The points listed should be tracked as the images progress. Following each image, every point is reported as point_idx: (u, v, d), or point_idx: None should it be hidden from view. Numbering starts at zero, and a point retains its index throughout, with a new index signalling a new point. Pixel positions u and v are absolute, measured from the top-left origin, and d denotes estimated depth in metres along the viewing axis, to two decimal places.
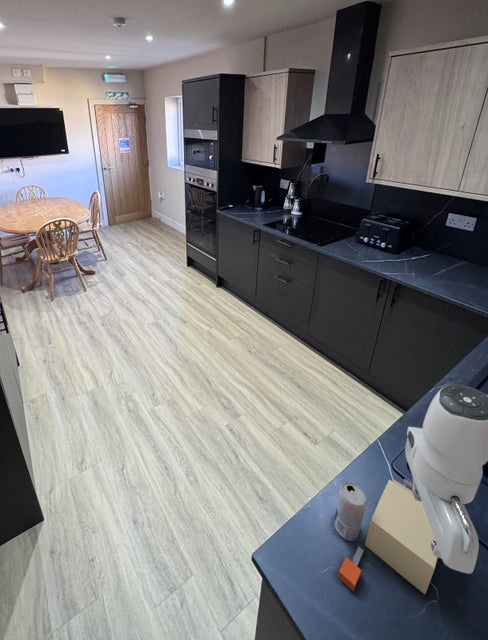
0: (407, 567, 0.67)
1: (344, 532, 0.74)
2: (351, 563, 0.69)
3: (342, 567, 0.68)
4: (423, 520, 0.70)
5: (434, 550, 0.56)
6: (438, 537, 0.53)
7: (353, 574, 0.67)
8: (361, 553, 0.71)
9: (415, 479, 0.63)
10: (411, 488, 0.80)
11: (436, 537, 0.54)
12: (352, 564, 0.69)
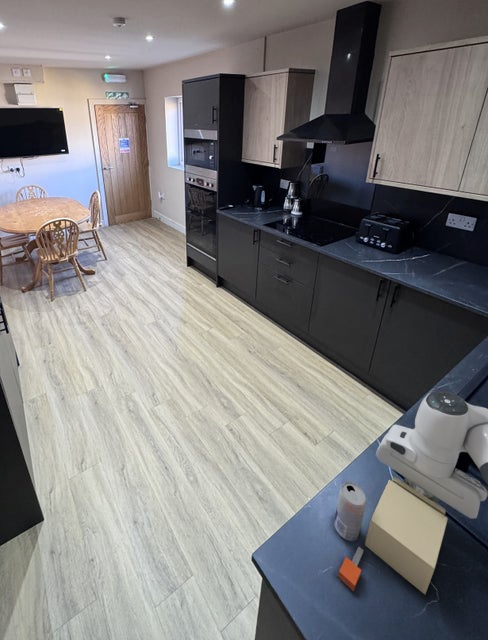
0: (407, 567, 0.67)
1: (344, 532, 0.74)
2: (351, 563, 0.69)
3: (342, 567, 0.68)
4: (423, 520, 0.70)
5: None
6: (457, 504, 0.71)
7: (353, 574, 0.67)
8: (361, 553, 0.71)
9: (403, 472, 0.79)
10: None
11: (455, 505, 0.72)
12: (352, 564, 0.69)
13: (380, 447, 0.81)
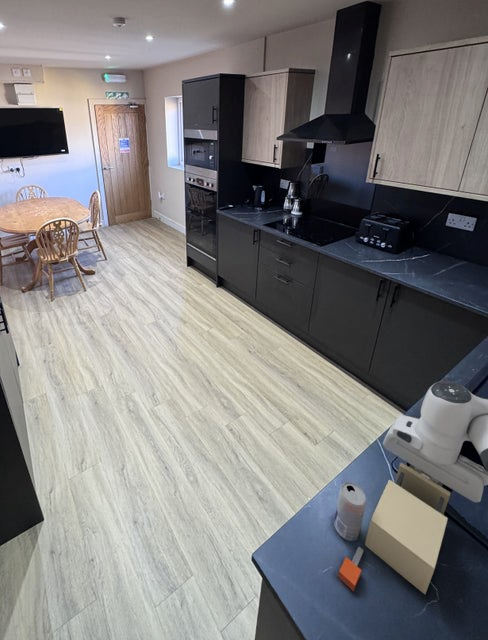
0: (407, 567, 0.67)
1: (344, 532, 0.74)
2: (351, 563, 0.69)
3: (342, 567, 0.68)
4: (423, 520, 0.70)
5: None
6: (461, 489, 0.75)
7: (353, 574, 0.67)
8: (361, 553, 0.71)
9: (409, 460, 0.82)
10: None
11: (459, 489, 0.75)
12: (352, 564, 0.69)
13: (387, 436, 0.85)
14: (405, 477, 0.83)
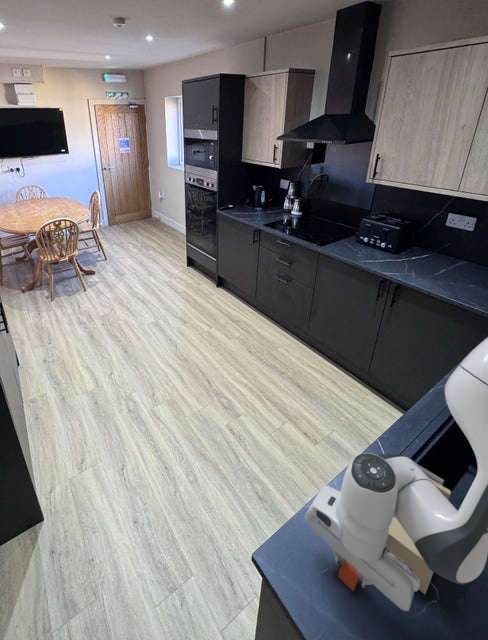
0: None
1: None
2: None
3: (342, 567, 0.68)
4: None
5: (364, 584, 0.65)
6: (388, 591, 0.60)
7: (353, 574, 0.67)
8: None
9: (332, 545, 0.67)
10: None
11: (385, 592, 0.60)
12: None
13: (308, 513, 0.70)
14: None
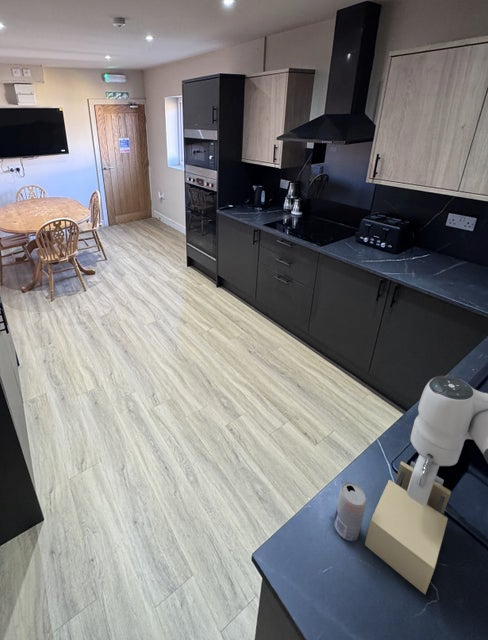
0: (407, 567, 0.67)
1: (344, 532, 0.74)
2: None
3: None
4: (423, 520, 0.70)
5: None
6: None
7: None
8: None
9: None
10: None
11: None
12: None
13: None
14: (405, 476, 0.83)
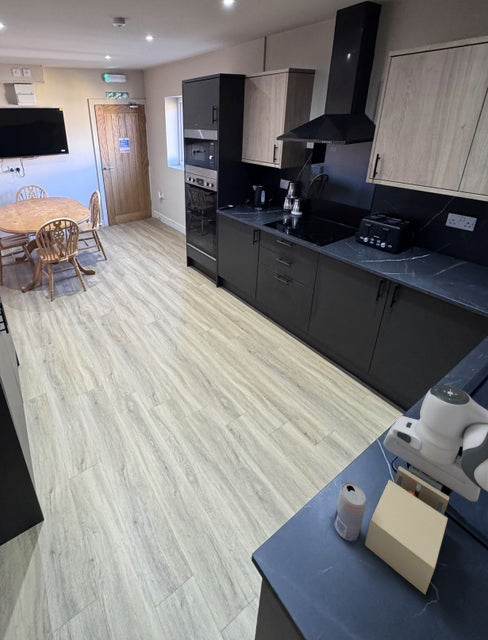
0: (407, 567, 0.67)
1: (344, 532, 0.74)
2: None
3: None
4: (423, 520, 0.70)
5: None
6: (459, 488, 0.77)
7: None
8: (416, 489, 0.76)
9: (409, 460, 0.85)
10: (416, 475, 0.83)
11: (457, 489, 0.78)
12: None
13: (387, 437, 0.87)
14: (403, 481, 0.82)
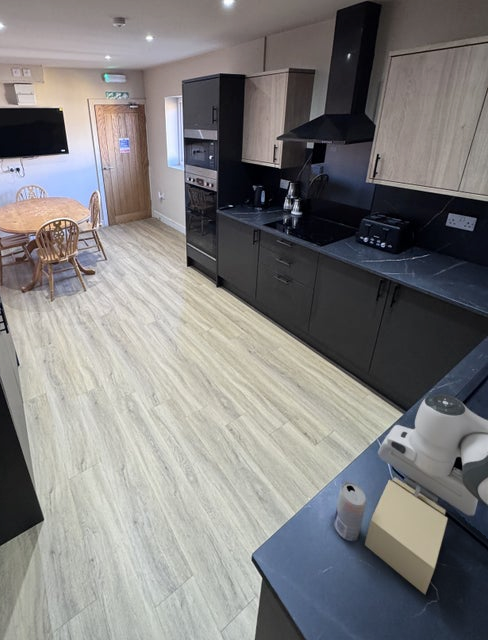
0: (407, 567, 0.67)
1: (344, 532, 0.74)
2: None
3: None
4: (423, 520, 0.70)
5: None
6: (455, 501, 0.75)
7: None
8: None
9: (404, 471, 0.82)
10: (412, 486, 0.81)
11: (453, 502, 0.75)
12: None
13: (382, 446, 0.85)
14: None
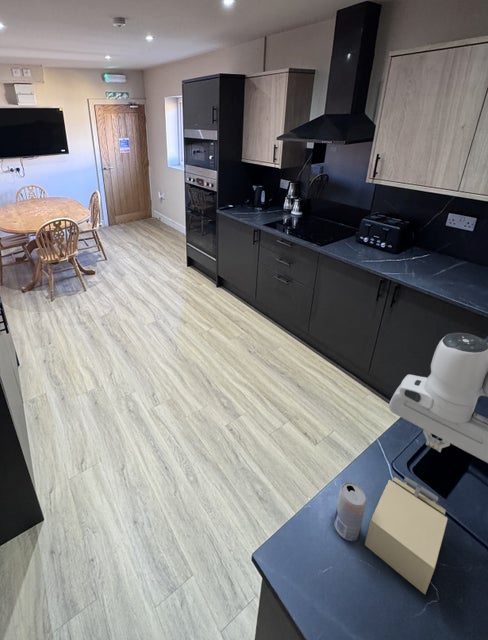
0: (407, 567, 0.67)
1: (344, 532, 0.74)
2: None
3: None
4: (423, 520, 0.70)
5: (440, 448, 0.74)
6: (476, 450, 0.68)
7: None
8: None
9: (418, 422, 0.76)
10: (412, 486, 0.81)
11: (474, 451, 0.68)
12: None
13: (393, 397, 0.78)
14: None
